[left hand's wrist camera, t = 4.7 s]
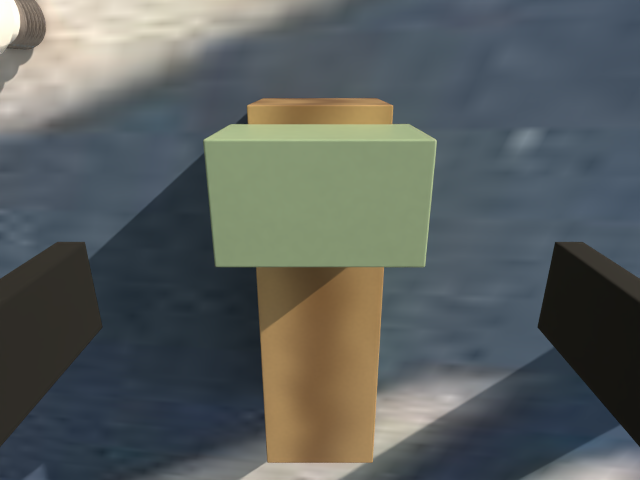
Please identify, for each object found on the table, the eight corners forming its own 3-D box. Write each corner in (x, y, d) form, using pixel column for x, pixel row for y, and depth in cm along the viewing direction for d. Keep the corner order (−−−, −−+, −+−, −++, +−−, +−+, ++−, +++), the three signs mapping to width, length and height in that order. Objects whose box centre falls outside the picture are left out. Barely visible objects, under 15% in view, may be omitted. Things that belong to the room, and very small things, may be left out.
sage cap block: (410, 124, 24) (437, 139, 19) (402, 226, 26) (425, 267, 21) (229, 123, 24) (202, 139, 19) (236, 226, 26) (214, 267, 21)
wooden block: (377, 98, 30) (393, 105, 24) (363, 398, 40) (372, 463, 33) (262, 98, 30) (246, 105, 24) (276, 398, 40) (267, 462, 33)
